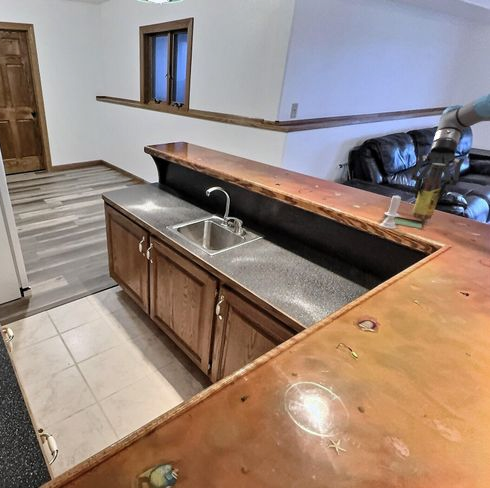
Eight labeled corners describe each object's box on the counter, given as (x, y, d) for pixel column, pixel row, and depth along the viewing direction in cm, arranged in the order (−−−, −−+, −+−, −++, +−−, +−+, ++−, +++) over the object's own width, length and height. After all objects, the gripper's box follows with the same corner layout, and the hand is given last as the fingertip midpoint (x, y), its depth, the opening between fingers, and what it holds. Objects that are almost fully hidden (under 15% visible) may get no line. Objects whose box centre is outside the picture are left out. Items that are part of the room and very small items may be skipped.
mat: (422, 220, 134) (423, 219, 134) (421, 229, 127) (421, 228, 127) (387, 214, 140) (387, 213, 140) (383, 221, 133) (383, 220, 133)
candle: (383, 222, 133) (391, 191, 127) (398, 226, 129) (408, 195, 124) (377, 225, 130) (386, 194, 124) (393, 230, 126) (403, 198, 121)
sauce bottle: (427, 221, 126) (446, 167, 118) (408, 216, 131) (425, 163, 122) (433, 217, 130) (452, 164, 122) (414, 212, 135) (431, 161, 126)
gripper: (415, 135, 131) (397, 188, 126) (481, 140, 121) (464, 198, 116) (412, 148, 137) (395, 198, 133) (474, 153, 127) (458, 208, 122)
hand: (427, 198), depth 124 cm, fingers closed on sauce bottle, 6 cm apart
